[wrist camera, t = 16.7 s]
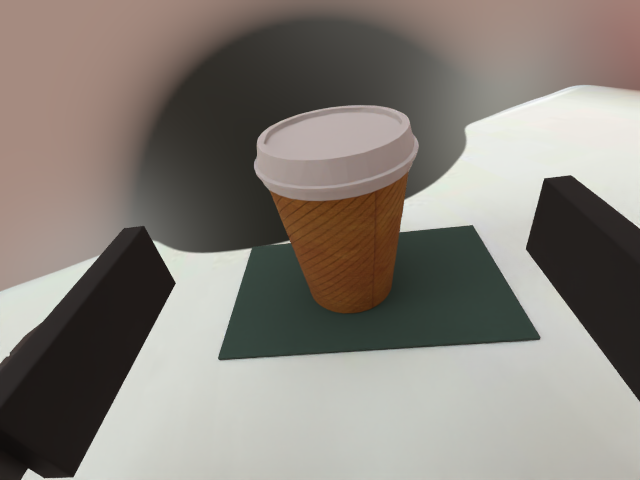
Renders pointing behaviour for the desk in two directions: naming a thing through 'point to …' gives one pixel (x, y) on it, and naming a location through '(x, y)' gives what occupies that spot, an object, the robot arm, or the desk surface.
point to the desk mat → (391, 314)
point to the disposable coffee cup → (341, 197)
